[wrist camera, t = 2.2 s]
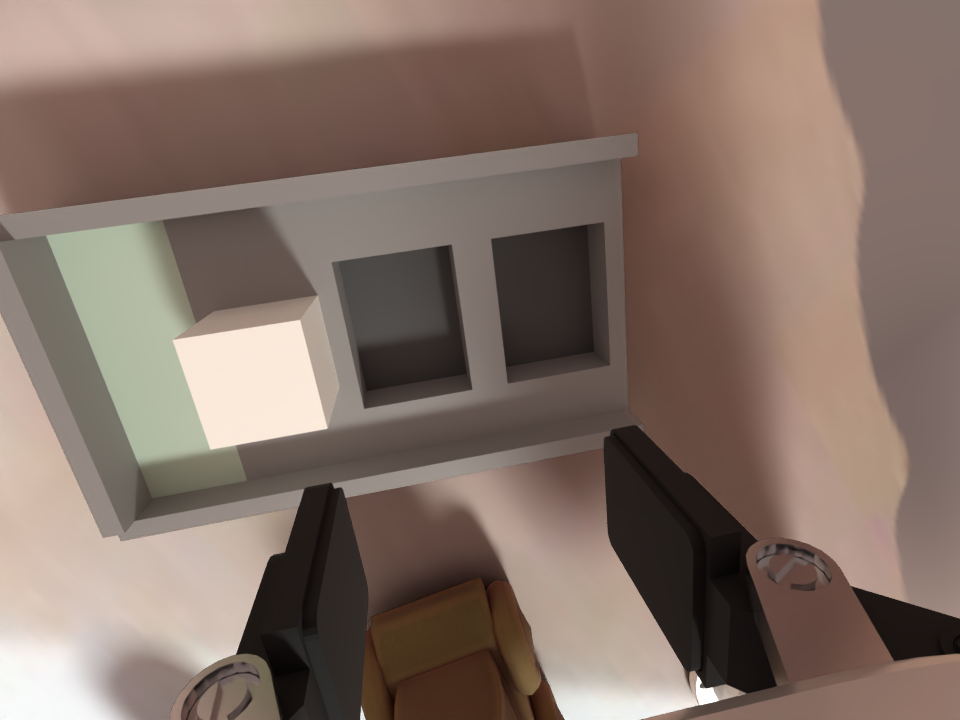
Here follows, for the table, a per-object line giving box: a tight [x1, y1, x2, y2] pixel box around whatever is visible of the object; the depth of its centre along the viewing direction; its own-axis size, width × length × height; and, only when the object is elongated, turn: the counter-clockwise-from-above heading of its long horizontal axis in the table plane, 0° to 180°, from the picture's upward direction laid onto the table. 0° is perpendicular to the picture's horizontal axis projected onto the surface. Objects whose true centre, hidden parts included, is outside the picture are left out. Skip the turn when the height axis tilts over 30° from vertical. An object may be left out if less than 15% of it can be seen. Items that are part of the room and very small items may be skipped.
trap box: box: [0, 133, 644, 541], centre depth 27 cm, size 28×16×6 cm, turn 97°
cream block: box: [173, 295, 339, 450], centre depth 24 cm, size 5×5×5 cm
